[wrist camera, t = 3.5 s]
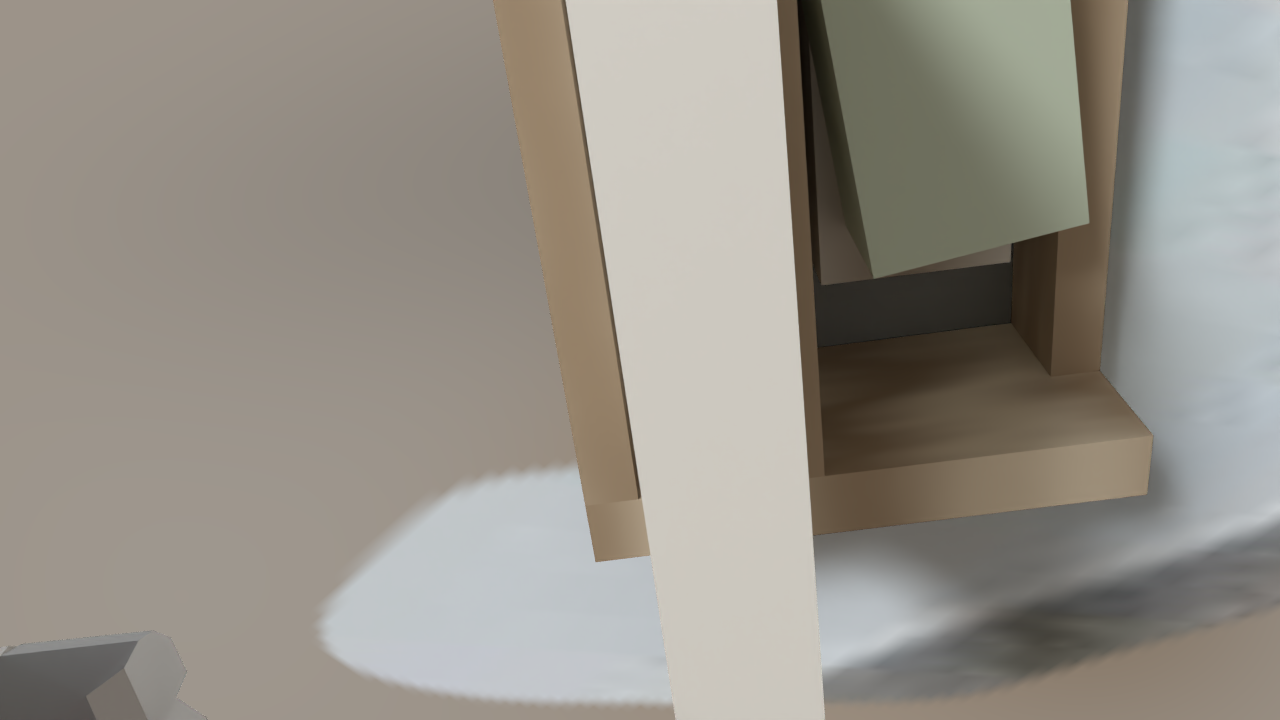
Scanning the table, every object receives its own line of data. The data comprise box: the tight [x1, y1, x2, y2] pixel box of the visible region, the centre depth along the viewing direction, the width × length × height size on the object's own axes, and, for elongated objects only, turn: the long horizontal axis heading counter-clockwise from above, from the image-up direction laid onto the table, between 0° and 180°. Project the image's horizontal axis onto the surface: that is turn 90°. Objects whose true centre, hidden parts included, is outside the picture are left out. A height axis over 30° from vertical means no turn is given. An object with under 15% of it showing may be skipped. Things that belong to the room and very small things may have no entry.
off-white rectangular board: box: [566, 0, 825, 720], centre depth 18 cm, size 2×14×18 cm, turn 7°
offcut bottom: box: [797, 0, 1011, 285], centre depth 25 cm, size 4×12×3 cm, turn 7°
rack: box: [493, 0, 1153, 562], centre depth 23 cm, size 13×21×6 cm, turn 7°
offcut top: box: [801, 0, 1089, 279], centre depth 23 cm, size 4×9×3 cm, turn 15°
